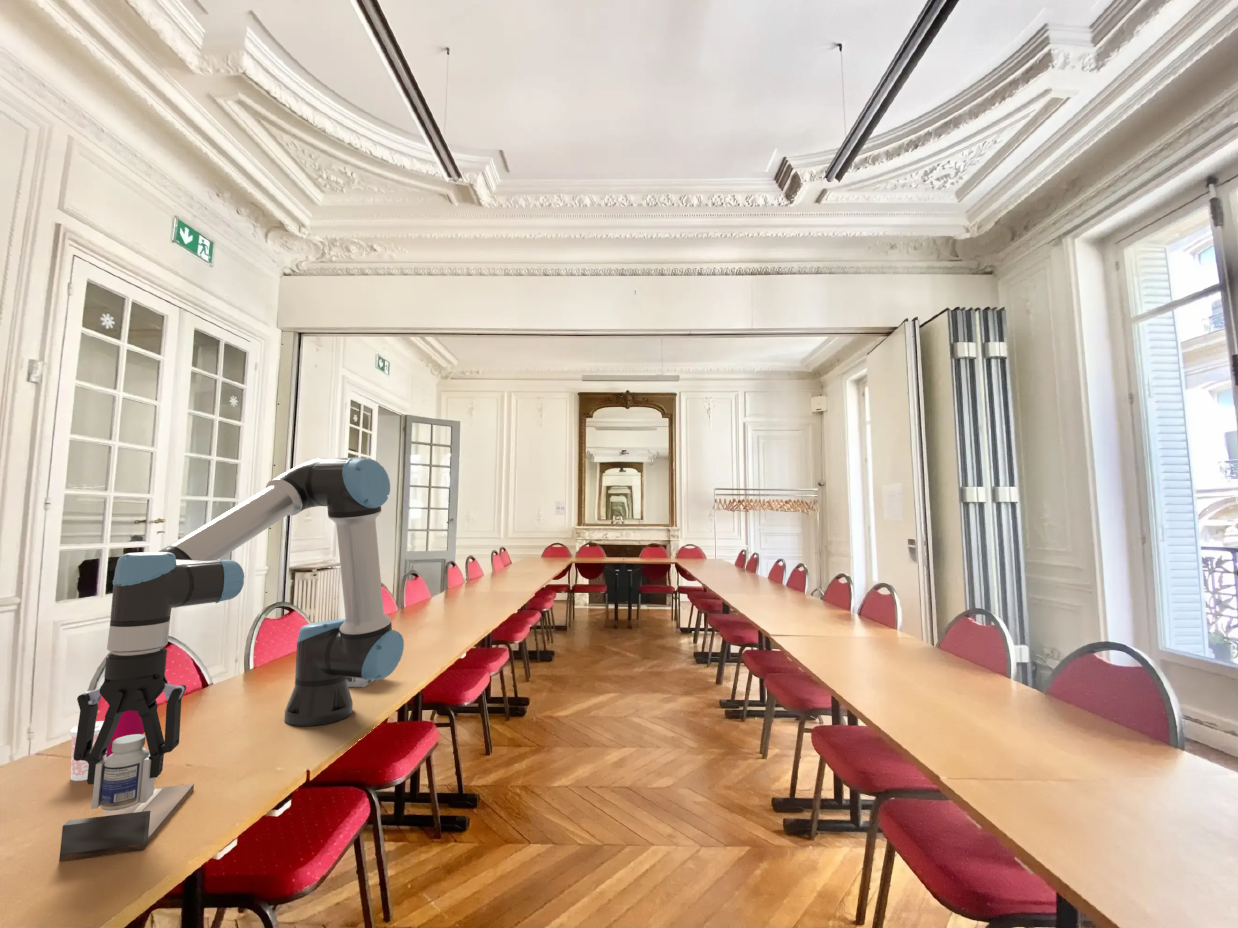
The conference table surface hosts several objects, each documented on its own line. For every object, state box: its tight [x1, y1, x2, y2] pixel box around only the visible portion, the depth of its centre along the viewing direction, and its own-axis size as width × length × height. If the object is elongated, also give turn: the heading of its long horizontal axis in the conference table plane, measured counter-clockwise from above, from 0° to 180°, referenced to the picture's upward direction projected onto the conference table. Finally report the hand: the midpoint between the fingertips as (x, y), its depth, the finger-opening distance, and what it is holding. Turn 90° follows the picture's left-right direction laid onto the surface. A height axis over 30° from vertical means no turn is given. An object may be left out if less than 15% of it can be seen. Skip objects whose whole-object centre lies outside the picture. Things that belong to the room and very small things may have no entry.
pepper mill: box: [106, 710, 145, 757], centre depth 121 cm, size 7×7×20 cm
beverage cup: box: [69, 720, 107, 782], centre depth 110 cm, size 6×6×14 cm
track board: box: [58, 783, 195, 863], centre depth 94 cm, size 10×20×5 cm, turn 19°
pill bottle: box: [100, 734, 150, 811], centre depth 90 cm, size 5×5×10 cm
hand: (123, 801), depth 90 cm, fingers closed on pill bottle, 5 cm apart
